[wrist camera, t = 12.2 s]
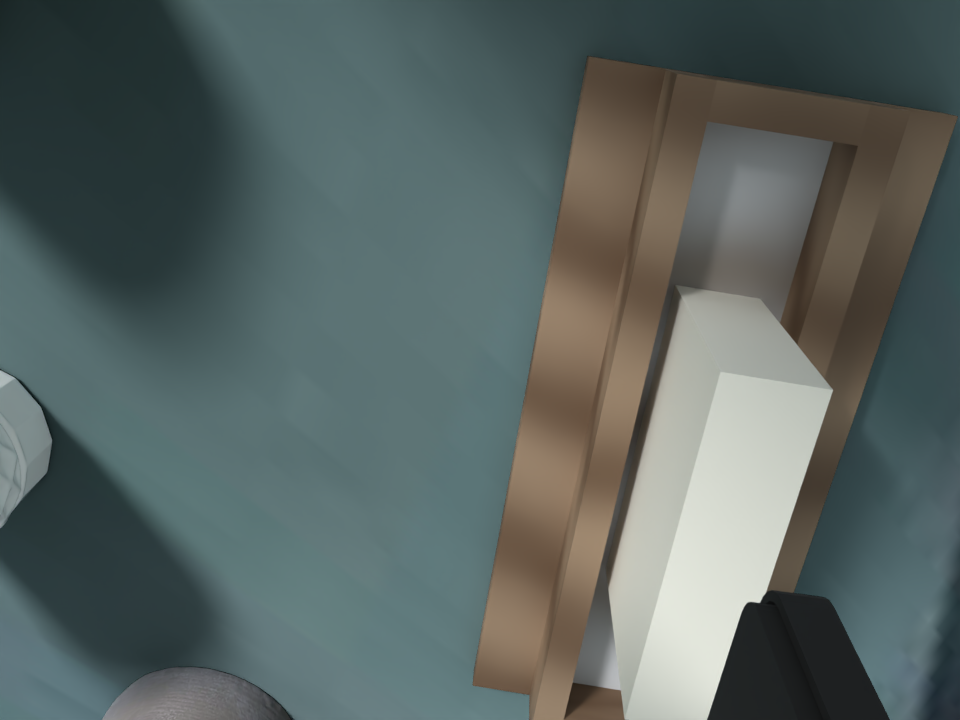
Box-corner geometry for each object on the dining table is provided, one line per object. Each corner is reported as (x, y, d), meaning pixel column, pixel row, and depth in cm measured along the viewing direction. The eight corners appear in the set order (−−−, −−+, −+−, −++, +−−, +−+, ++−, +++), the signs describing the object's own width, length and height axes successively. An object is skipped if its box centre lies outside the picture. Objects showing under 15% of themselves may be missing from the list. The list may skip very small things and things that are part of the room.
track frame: (587, 55, 29) (593, 60, 26) (944, 113, 29) (994, 124, 26) (474, 669, 38) (468, 727, 35) (741, 712, 38) (759, 775, 35)
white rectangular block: (675, 284, 30) (720, 371, 23) (760, 298, 30) (833, 390, 23) (605, 569, 35) (624, 719, 27) (679, 581, 35) (718, 734, 27)
